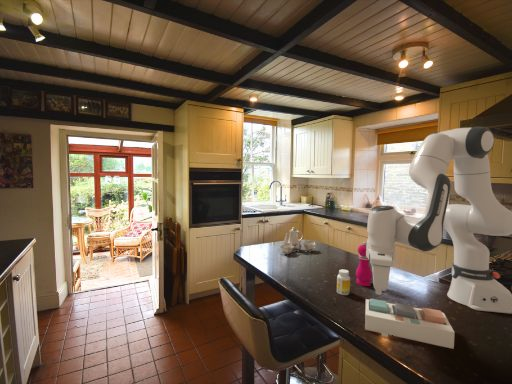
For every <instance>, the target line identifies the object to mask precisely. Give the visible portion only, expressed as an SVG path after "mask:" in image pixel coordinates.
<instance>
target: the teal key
mask: <svg viewBox="0 0 512 384" xmlns="http://www.w3.org/2000/svg"><path fill="white" fill-rule="evenodd" d="M369 300H370V311H374V312H380V313H385V314H387V303H388V302H387V300H382V299H376V298H369Z"/></svg>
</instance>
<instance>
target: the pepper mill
mask: <svg viewBox="0 0 512 384" xmlns="http://www.w3.org/2000/svg"><path fill="white" fill-rule="evenodd" d="M366 245H367V241H363V242H362V244H360V245H359V246H358V248H357V252H358V253H357V254H358V259H359V263H358V267H357V268H356V270H355V277H356V284H357V285H359V286H362V287H369V286H372V285H371V284H372V279H373V272H372V268H370V261H369V259H368V258H367V257H366Z"/></svg>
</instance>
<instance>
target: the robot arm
mask: <svg viewBox="0 0 512 384" xmlns="http://www.w3.org/2000/svg"><path fill="white" fill-rule="evenodd" d="M494 144H495V135H494V133H493V131H492V130H491V129H490V128H489V127H485V126H473V127H458V128H457V127H456V128H453V129H449V130H448V129H447V130H444V131H436V132H433V133H429V134H428V135H427V136H426V137H425V138H424V140H423V141H422V142H421V143H420V145H419V146H418V148H417V150H416V152H415V154H414V156H413V158H412V160H411V163H410V165H409V170H408V175H409V177H410V180H412V181H413V182H414V183H415V184H416V185H418V186H419V187H421V188H423V189H425V190H427V192H428V196H427V201H426V205H425V209H424V213H423V215H421V217H414V216H409V215H404V214H403V213H400V212H399V211H398V210H396V209H395V207H394V206H392V205H378V206H374V207H372V208H371V209H370V211H368V216H367V217H368V218H367V227H366V231H367V240H366V243H367V245H366V257H367V258H368V259H369V265H371V272H372V283H373V288H374V289H375V294H376V295H378V296H379V295H381V296H382V291H384V292H386V291H387V290H388V286H389V281H390V273H391V267H393V264H394V261H395V255H396V244H395V243H396V242H397V243H400V244H402V245H406V246H409V247H411V248H414V249H417V250H419V251H421V252H430V251H432V250H435V249H436V248H438V247H439V246H440V245H441V243H442V242H443V237H444V230H445V231H446V232H447V233H448V235H449V236H450V238H451V241H452V244H453V245H452V246H453V262H452V263H451V277H452V278H451V282H450V285H449V289H448V291H447V294H446V296H447V297H448V298H449V300H452V301H455V302H456V303H459V304H460V305H461V304H462V305H464V306H467V307H468V308H470V309H473V310H474V311H475V310H476V311H479V312H480V311H483V312H492V313H493V312H494V313H503V314H510V315H511V314H512V293H511V291H510V290H509V289H507V287H506V286H504V285H503V284H502V283H500V282H499V281H497V279H500V278H501V275H500V274H499V273H498V272H497V271H494V270H493V269H491V268H490V255H491V254H490V250H489V247H487V246H486V245H485V244H483V243H482V242H480V241H479V240H478V239H477V238H476V237H475V235H474V234H478V235H479V234H480V235H484V236H485V235H487V236H494V237H495V236H496V237H503V236H504V237H506V236H508V237H509V236H510V235H512V210H510V209H508V208H506V207H505V206H504V205H503V204H501V203H500V201H499V199H497V197H496V196H495V194H494V191H493V189H492V180H491V165H490V159H489V154H490V152H491V151H492V149H493V148H494ZM452 160H453V182H454V183H453V184H454V191H455V193H456V194H457V195H458V196H460V197H461V198H463V199H465V200H466V201H468V202H469V203H470V204H461V203H459V204H458V203H450V204H448V203H449V199H450V194H451V186H452V183H451V180H450V178H449V177H448V176H447V170H448V169H449V165H450V163H451V161H452Z"/></svg>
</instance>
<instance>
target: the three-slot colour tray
mask: <svg viewBox="0 0 512 384" xmlns="http://www.w3.org/2000/svg"><path fill="white" fill-rule="evenodd" d="M386 303H387V314H385V313H380V312H374V311H370V299H367V298H365V310H364V311H365V314H364V316H365V317H364V318H365V319H364V320H365V321H364V322H365V323H364V330H366V331H370V332H375V333H379V334H384V335H388V334H389V335H388V336H392V335H393V337H398V338H403V339H406V340H412V341H416V342H421V343H426V344H429V345H434V346H438V347H443V348H448V349H453V350H455V348H454V347H455V333H456V332H455V331H454V329H453V327H452V325H451V324H450V322H449V320H448V318H447V316H446V314H445V313H444V312H442V314H443V316H444V318H445V325H442V324H437V323H432V322H427V321H423V318H422V308H418V307H413V308H414V311H415V319H411V318H406V317H401V316H396V314H395V303H390V302H386Z"/></svg>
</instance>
